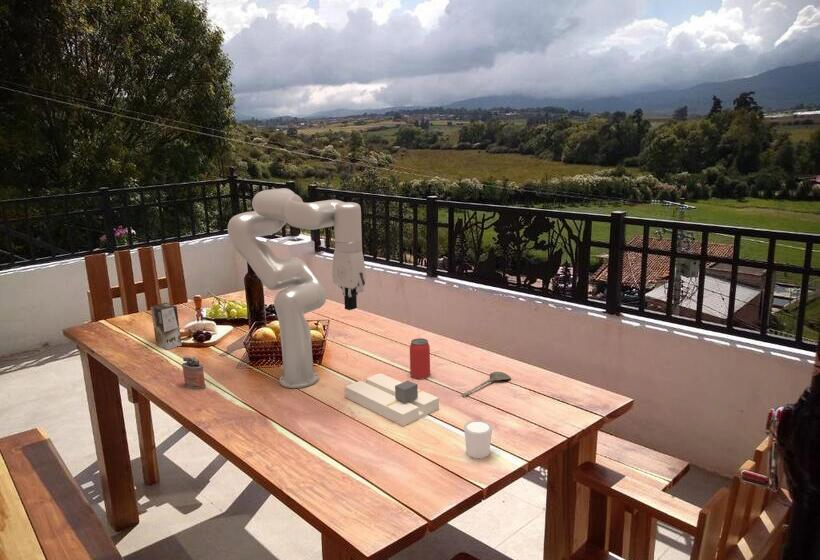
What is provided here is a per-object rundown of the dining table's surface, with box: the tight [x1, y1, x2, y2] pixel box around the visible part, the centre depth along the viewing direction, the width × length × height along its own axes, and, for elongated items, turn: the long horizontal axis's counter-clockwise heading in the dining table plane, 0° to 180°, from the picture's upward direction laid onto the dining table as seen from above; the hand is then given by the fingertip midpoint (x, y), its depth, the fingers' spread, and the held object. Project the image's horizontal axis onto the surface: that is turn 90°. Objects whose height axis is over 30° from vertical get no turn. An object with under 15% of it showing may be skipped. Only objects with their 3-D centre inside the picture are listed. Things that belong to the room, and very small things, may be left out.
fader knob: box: [395, 380, 419, 403], centre depth 161 cm, size 4×5×6 cm
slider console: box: [344, 372, 440, 427], centre depth 167 cm, size 26×14×4 cm, turn 43°
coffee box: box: [150, 302, 183, 351], centre depth 219 cm, size 9×6×16 cm
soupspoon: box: [461, 371, 512, 398], centre depth 177 cm, size 22×3×7 cm
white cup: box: [463, 420, 493, 459], centre depth 139 cm, size 7×7×7 cm
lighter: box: [181, 356, 207, 390], centre depth 181 cm, size 8×3×10 cm, turn 65°
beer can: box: [409, 337, 431, 380], centre depth 185 cm, size 7×7×12 cm
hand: (350, 308), depth 164 cm, fingers closed
